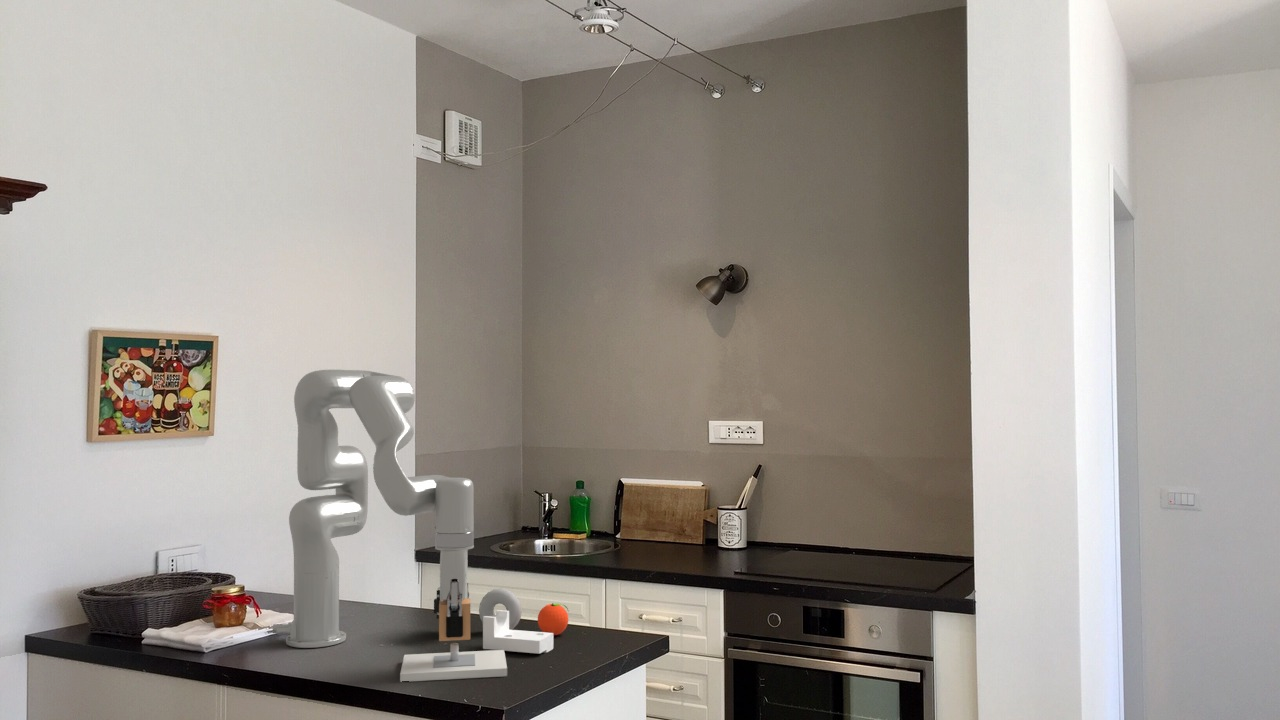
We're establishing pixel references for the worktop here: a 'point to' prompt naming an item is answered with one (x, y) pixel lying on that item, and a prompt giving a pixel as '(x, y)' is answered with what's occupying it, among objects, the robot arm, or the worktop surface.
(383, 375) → the robot arm
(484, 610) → the donut
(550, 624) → the clementine
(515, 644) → the bracket
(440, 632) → the block
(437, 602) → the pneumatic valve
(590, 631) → the worktop surface
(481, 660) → the plate
